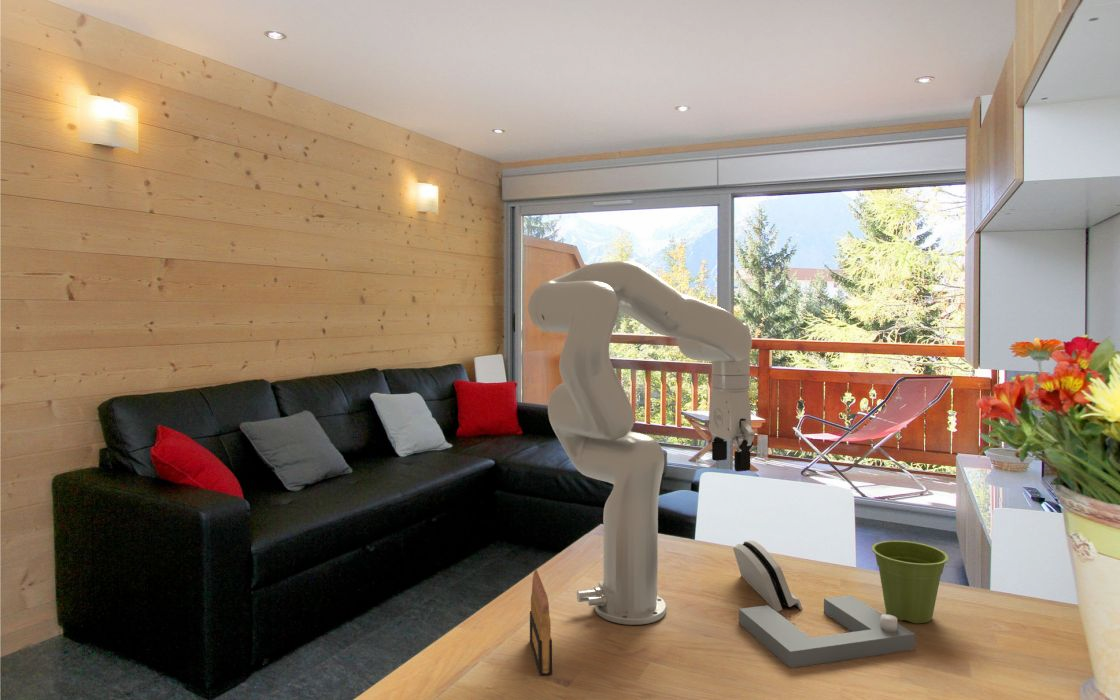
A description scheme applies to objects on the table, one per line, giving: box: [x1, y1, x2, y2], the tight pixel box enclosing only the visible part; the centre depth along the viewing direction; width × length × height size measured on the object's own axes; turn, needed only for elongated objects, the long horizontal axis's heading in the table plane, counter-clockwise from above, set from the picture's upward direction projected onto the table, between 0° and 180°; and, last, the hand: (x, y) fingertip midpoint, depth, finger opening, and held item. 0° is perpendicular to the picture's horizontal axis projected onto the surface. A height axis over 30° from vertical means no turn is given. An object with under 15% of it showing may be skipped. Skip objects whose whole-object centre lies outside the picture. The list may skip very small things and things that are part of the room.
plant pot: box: [871, 540, 949, 624], centre depth 117 cm, size 12×12×11 cm
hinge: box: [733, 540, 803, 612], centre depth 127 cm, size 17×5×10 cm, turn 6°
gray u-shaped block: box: [738, 594, 916, 669], centre depth 110 cm, size 22×15×4 cm
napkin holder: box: [529, 569, 553, 676], centre depth 103 cm, size 11×2×12 cm, turn 10°
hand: (730, 465), depth 139 cm, fingers open, 9 cm apart
